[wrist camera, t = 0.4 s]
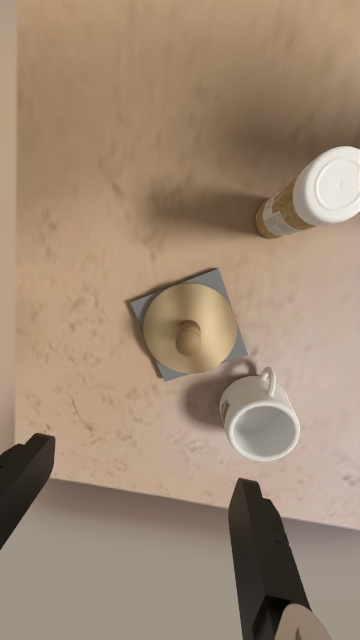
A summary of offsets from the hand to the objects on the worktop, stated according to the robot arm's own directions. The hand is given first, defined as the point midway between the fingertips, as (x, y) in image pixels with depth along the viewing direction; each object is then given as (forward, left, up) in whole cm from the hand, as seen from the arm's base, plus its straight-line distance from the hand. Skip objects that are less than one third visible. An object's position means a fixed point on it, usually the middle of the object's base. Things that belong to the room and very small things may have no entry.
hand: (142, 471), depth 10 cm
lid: (-1, 0, -22) cm, 22 cm away
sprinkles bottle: (-15, -9, -23) cm, 29 cm away
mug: (-6, +13, -23) cm, 27 cm away
